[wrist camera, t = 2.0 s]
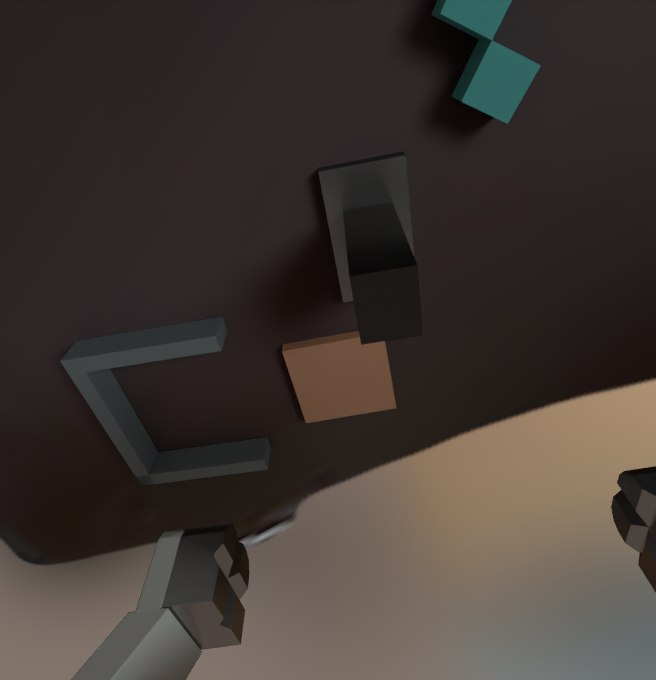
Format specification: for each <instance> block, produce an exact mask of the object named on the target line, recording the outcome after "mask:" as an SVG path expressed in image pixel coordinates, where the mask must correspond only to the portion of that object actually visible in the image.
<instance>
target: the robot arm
mask: <svg viewBox="0 0 656 680" xmlns="http://www.w3.org/2000/svg"><path fill="white" fill-rule="evenodd" d="M617 483H618V485H619V486H620V488H621V489H622V490H621V491H620V492H618V493H617V494H616V495H615V496H614V497H613V501H612V506H611V508H612V514H613V519H614V522H615V525H616V527H617V529H618V532H619V533H620V535H621V536H622V538H623V540H624V542H625V543H626V544H628V545H629V546H631V547H632V548H634V549H635V550H637V551H638V552H640V556H639V566H640V568H641V570H642V571H643V573H644V574H645V576H646V578H647V579H648V581H649V582H650V584H651V586H652V587H653V589H654V591H655V592H656V466H655V467H648V468H642V469H635V470H629V471H624V472H622V473H621V474H620V475H619V478H618V481H617ZM236 539H237V531H236V529H235V527H234V526H233V524H227V525H219V526H211V527H202V528H194V529H183V530H176V531H169V532H163V534H162V535H161V537H160V538H159V540H158V542H157V545H156V549H155V551H154V554H153V558H152V561H151V564H150V567H149V570H148V573H147V577H146V580H145V583H144V586H143V589H142V592H141V596H140V599H139V602H138V605H137V608H136V611H135V612H129V613H128V614H127V615H126V616H125V617H124V618H123V620H122V621H121V622H120V623H119V624H118V625H117V627H116V628H115V629H114V630H113V631H112V632H111V634H110V635H109V636H108V637H107V638H106V639H105V641H104V642H103V643H102V644H101V645H100V646H99V648H98V649H97V650H96V651H95V652H94V653H93V655H92V656H91V657H90V658H89V659H88V660H87V662H86V663H85V664H84V665H83V666H82V667H81V669H80V670H79V671H78V672H77V673H76V674H75V676H74V677H73V678H72V679H71V680H186V678H187V676H188V675H189V673H190V672H191V670H192V668H193V667H194V665H195V663H196V661H197V660H198V658H199V656H200V655H201V653H202V651H201V650H202V649H209V648H217V647H224V646H231V645H239V644H241V637H242V630H243V622H244V615H245V609H244V607H243V606H242V604H241V602H240V598H241V597H242V596H243V594H244V593H245V592H246V590H247V589H248V582H249V559H248V556H247V551H246V549H245V547H244V545H243V544H242V543H240V542H238V541H236Z"/></svg>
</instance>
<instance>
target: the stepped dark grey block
mask: <svg viewBox="0 0 656 680" xmlns="http://www.w3.org/2000/svg"><path fill="white" fill-rule="evenodd" d="M318 173H319V178H320V183H321V189H322V194H323V199H324V204H325V210H326V215H327V220H328V225H329V230H330V236H331V241H332V246H333V251H334V257H335V262H336V267H337V272H338V277H339V283H340V288H341V293H342V298H343V303H344V302H350V301H354V307H355V312H356V318H357V324H358V329H359V335H360V341H361V345H363V344H369V343H376V342H382V341H389V340H395V339H402V338H408V337H415V336H421V335H423V331H422V319H421V307H420V294H419V282H418V269H417V263H416V261H415V258H414V250H413V238H412V226H411V214H410V202H409V190H408V179H407V167H406V155H405V154H404V152H398V153H392V154H387V155H382V156H377V157H372V158H367V159H362V160H357V161H351V162H346V163H341V164H336V165H331V166H326V167H321V168H318Z"/></svg>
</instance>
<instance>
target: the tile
mask: <svg viewBox="0 0 656 680" xmlns="http://www.w3.org/2000/svg"><path fill="white" fill-rule="evenodd" d="M282 353H283V356H284V359H285V362H286V365H287V368H288V371H289V374H290V377H291V380H292V383H293V386H294V389H295V392H296V395H297V398H298V401H299V404H300V407H301V410H302V413H303V416H304V419H305V422H306V423H310V422H316V421H322V420H328V419H335V418H341V417H347V416H353V415H359V414H365V413H371V412H377V411H383V410H389V409H395V408H396V403H395V397H394V391H393V385H392V380H391V374H390V368H389V362H388V356H387V350H386V345H385V341H382V342H376V343H369V344H363V345H361V341H360V335H359V331H354V332H349V333H343V334H338V335H332V336H327V337H321V338H315V339H310V340H304V341H299V342H293V343H288V344H283V347H282Z"/></svg>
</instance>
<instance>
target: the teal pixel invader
mask: <svg viewBox="0 0 656 680" xmlns="http://www.w3.org/2000/svg"><path fill="white" fill-rule="evenodd" d="M511 1H512V0H437V2H436V4H435V7H434V9H433V11H432V14H431V15H432V16H434V17H436V18H438V19H440V20H442V21H444V22H446V23H448V24H450V25H452V26H453V27H455V28H457V29H459V30H461V31H463V32H465V33H467V34H469V35H471V36H473V37H475V38H477V39H479V40H478V42H477V44H476V46H475V48H474V50H473V52H472V55H471V57H470V59H469V61H468V63H467V65H466V67H465V69H464V71H463V73H462V75H461V77H460V79H459V81H458V83H457V85H456V87H455V90H454V92H453V94H452V96H451V97H453V98H455V99H457V100H459V101H461V102H463V103H465V104H467V105H469V106H471V107H473V108H476V109H478V110H480V111H482V112H484V113H486V114H488V115H490V116H492V117H494V118H497V119H499V120H501V121H503V122H505V123H507V124H508V123H509V121H510V119H511V117H512V116H513V114H514V112H515V110H516V109H517V107H518V105H519V103H520V101H521V100H522V98H523V96H524V94H525V93H526V91H527V89H528V87H529V86H530V84H531V82H532V80H533V78H534V77H535V75H536V73H537V71H538V70H539V68H540V66H541V65H539V64H537V63H535V62H533V61H531V60H529V59H527V58H525V57H523V56H521V55H519V54H517V53H516V52H514V51H512V50H510V49H508V48H506V47H504V46H502V45H500V44H498V43H496V42H494V41H492V39H493V37H494V35H495V33H496V31H497V29H498V27H499V25H500V23H501V21H502V19H503V17H504V15H505V13H506V11H507V9H508V7H509V5H510V3H511Z"/></svg>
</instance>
